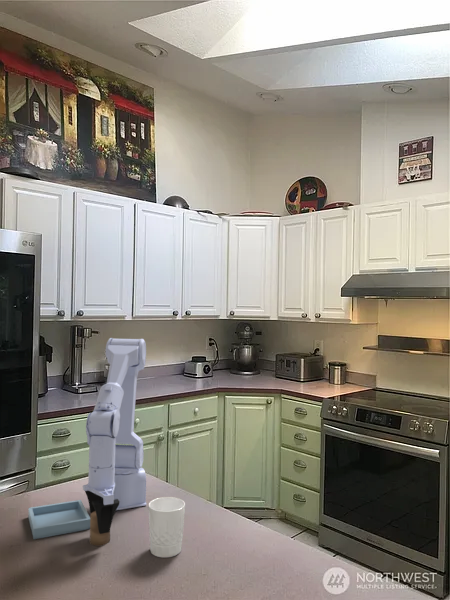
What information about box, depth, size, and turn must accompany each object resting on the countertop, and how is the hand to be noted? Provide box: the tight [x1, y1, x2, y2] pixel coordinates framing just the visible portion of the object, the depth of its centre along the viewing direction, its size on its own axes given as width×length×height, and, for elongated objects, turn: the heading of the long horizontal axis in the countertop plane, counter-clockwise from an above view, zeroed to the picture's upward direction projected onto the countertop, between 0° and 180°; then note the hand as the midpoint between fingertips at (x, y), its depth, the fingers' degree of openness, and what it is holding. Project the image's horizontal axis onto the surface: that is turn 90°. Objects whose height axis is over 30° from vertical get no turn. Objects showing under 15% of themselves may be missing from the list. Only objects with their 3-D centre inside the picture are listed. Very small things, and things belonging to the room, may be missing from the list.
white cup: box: [148, 496, 186, 559], centre depth 106 cm, size 8×8×10 cm
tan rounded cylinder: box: [89, 511, 111, 547], centre depth 109 cm, size 4×4×6 cm
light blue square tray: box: [27, 499, 90, 540], centre depth 118 cm, size 13×13×2 cm
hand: (100, 525), depth 109 cm, fingers open, 7 cm apart
